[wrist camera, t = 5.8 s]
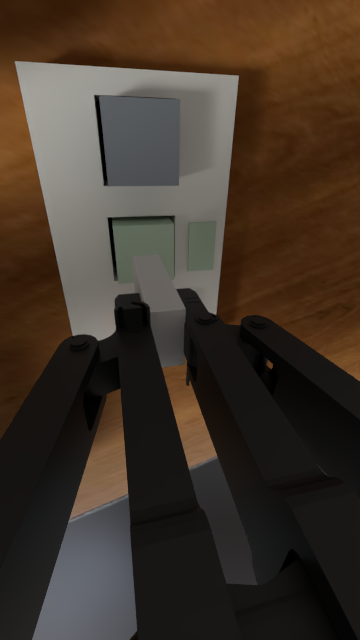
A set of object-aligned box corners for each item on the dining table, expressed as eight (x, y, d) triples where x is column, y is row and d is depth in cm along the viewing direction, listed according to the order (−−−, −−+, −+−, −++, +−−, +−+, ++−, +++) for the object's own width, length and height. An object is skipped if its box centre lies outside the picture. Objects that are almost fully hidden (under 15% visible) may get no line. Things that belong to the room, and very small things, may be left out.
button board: (204, 333, 30) (213, 352, 27) (82, 346, 28) (79, 368, 25) (221, 84, 19) (240, 75, 17) (28, 72, 17) (13, 60, 15)
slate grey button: (169, 179, 20) (178, 185, 17) (108, 179, 19) (108, 186, 16) (169, 105, 17) (180, 99, 15) (100, 102, 17) (99, 95, 14)
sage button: (166, 264, 24) (173, 280, 21) (117, 267, 23) (118, 283, 21) (166, 213, 22) (174, 224, 19) (111, 215, 21) (112, 226, 19)
